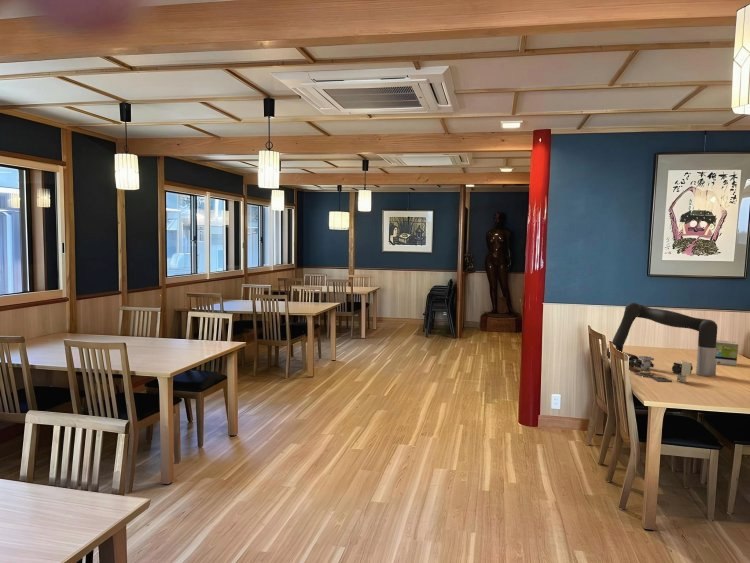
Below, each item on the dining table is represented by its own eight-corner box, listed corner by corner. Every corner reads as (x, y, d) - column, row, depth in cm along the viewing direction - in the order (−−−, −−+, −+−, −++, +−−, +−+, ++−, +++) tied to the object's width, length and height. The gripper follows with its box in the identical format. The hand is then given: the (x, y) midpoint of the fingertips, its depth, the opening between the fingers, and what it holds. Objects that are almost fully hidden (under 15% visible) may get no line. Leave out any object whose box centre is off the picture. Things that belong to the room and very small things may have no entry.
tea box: (710, 363, 359) (711, 341, 357) (707, 360, 368) (708, 339, 367) (736, 366, 353) (738, 343, 352) (733, 363, 362) (734, 341, 361)
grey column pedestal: (647, 374, 323) (648, 356, 322) (652, 376, 317) (654, 358, 316) (637, 374, 323) (638, 356, 322) (642, 376, 317) (643, 358, 316)
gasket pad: (664, 378, 314) (664, 377, 314) (671, 381, 306) (671, 381, 306) (650, 378, 314) (650, 377, 314) (657, 381, 306) (657, 380, 306)
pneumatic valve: (692, 381, 308) (693, 361, 307) (678, 383, 303) (679, 362, 302) (683, 379, 313) (684, 359, 312) (669, 381, 308) (670, 360, 307)
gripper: (619, 354, 333) (636, 359, 317) (639, 353, 336) (657, 359, 320) (618, 366, 334) (635, 372, 318) (638, 365, 336) (657, 371, 320)
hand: (646, 365), depth 319 cm, fingers open, 8 cm apart
